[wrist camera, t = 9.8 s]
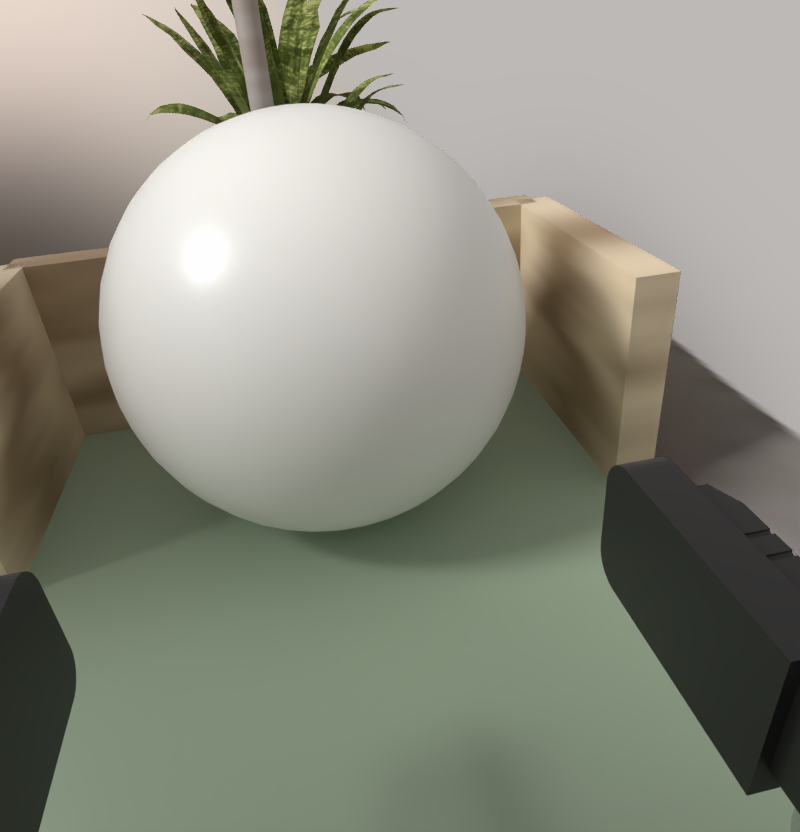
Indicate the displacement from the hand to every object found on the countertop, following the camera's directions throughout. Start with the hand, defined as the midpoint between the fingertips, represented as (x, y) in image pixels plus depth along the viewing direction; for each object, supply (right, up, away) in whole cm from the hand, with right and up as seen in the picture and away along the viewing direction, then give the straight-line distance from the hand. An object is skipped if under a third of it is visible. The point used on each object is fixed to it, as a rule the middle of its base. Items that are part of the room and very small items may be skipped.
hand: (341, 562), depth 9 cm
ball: (-1, +4, +9) cm, 10 cm away
